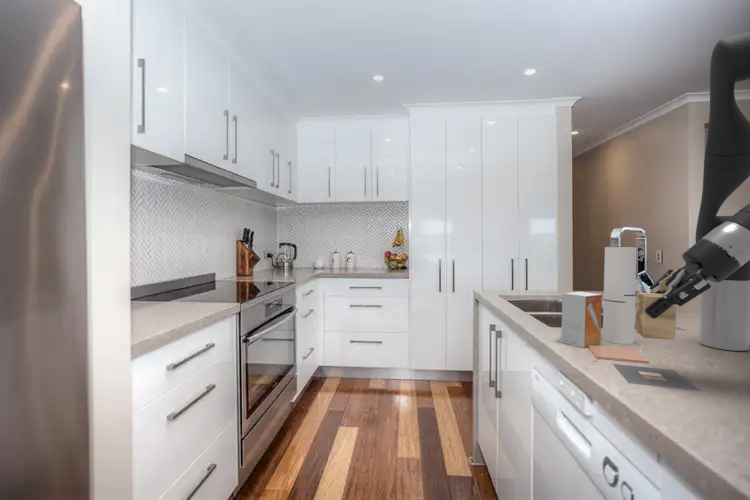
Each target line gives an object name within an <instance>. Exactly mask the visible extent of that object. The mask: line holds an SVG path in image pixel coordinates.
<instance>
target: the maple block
mask: <svg viewBox="0 0 750 500" xmlns="http://www.w3.org/2000/svg"><path fill="white" fill-rule="evenodd" d="M662 295H663V294H660V293H650V292H636V301H635V332H636V333H637V334H638V335H640V336H641V337H642V338H643V339H657V340H668V341H669V340H670V341H671V340H672V341H676V329H677V328H676V324H677V323H676V321H677V305H676V306H674V307H672V306H671V307H670V308H669V309H667V310H666V311H665V312H663V313H662V314H661V315H660V316H658V317H657V318H655V319H654V318H651V317H650V316H649V315H648V314H647V313H646V312H645V309H646V308H647V307H649V306H650V305H651V304H652V303H654V302H655V301H656V300H658V299H659V298H662ZM662 299H663V298H662Z"/></svg>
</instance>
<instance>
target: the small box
mask: <svg viewBox="0 0 750 500" xmlns="http://www.w3.org/2000/svg"><path fill="white" fill-rule="evenodd" d="M561 295H562V297H561V298H562V299H561V302H562V303H561V333H560V335H561V336H560V338H561V339H560V342H561V343H562V344H566V345H570V346H573V347H579V348H588V345H591V346H598V345H601V342H602V341H601V340H602V339H601V335H602V334H601V333H602V311H603V309H602V307H603V305H602V303H603V294H601V293H593V292H587V291H572V292H565V293H562V294H561Z"/></svg>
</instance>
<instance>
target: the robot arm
mask: <svg viewBox="0 0 750 500" xmlns="http://www.w3.org/2000/svg"><path fill="white" fill-rule="evenodd" d="M713 47H714V48H713V50H712V53H711V56H710V57H711V59H710V68H709V72H710V73H709V115H708V126H707V134H706V136H707V137H706V143H705V150H704V161H703V178H702V190H701V191H702V193H701V200H700V205H699V206H700V207H699V212H698V217H697V223H696V229H695V238H694V239H695V243H694V244H693V245H692V246H691V247H689V248H688V249H686V251H684V252H683V253H682V254H681V256H682V260H683V261H684V262H685V265H684V266H682V267H678V268H676V269H674V270H673V269H668V270H667V271H666V272H665V273H664V274H663V275H661V277H660V278H658V279H657V281H655V282H654V283H653V284H652V285H651V286H650V287H648V288H649V293H660V294H663V295H662V298H663V299H662V298H659V299H658V300H656V301H655V302H654V303H652V304H651V305H650V306H649V307H647V308H646V309H645V312H646V313H647V314H648V315H649V316H650V317H651V318H654V319H655V318H657V317H658V316H660V315H661V314H662V313H663V312H665V311H666V310H667V309H669V308H670V307H671V306H672V307H674V306H676V307H677V306H678V307H682V306H684V305H686V304H687V303H688V302H690V301H691V300H694V299H695V298H696V297H698V296H699V295H701V298H700V299H701V300H700V328H699V329H700V331H699V332H700V333H699V334H700V335H699V343H700V344H701V345H703V346H705V347H709V348H713V349H719V350H725V351H735V352H737V351H738V352H739V351H740V352H743V351H749V350H750V349H749V346H750V345H749V344H750V203H748V204H746V205H745V206H743V207H742V208H741V209H740V210H737V212H735V213H734V214H733V215H717V214H718V212H719V210H720V208H721V207H722V206H723V204H724V203H725V201H726V200H727V199H728V198H729V197H730V196H731V195H732V194H733V193H734V192H735V191H736V190H737V189H738V188H739V187H740V186H742V185H743V184H744V183H745V181H746V180H747V179H749V178H750V120H749V119H748V118H747V117H746V116H745V114H743V112H742V111H741V109H740V107H739V106H738V103H737V101H736V97H735V85H736V82H737V83H739V82H742V81H748V80H750V31H748V32H747V31H746V32H742V33H739V34H738V33H737V34H735V35H730V36H727V37H724V38H722V39H720V40H718V41H717V43H716V44H715V45H714V46H713Z"/></svg>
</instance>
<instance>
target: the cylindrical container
mask: <svg viewBox="0 0 750 500" xmlns="http://www.w3.org/2000/svg"><path fill="white" fill-rule="evenodd" d="M637 249H638V248H637V247H625V246H624V247H623V246H622V247H621V246H619V247H618V246H617V247H616V246H615V247H614V246H605V247H604V267H603V269H604V270H603V276H604V277H603V305H602V307H603V309H602V311H603V312H602V314H603V315H602V316H603V317H602V320H603V321H602V340H604V341H605V342H608V341H609V342H608V343H612V342H613V344H614V343H615V344H620V345H632V344H634V343H635V332H636V291H637V289H636V288H637V287H636V285H637Z"/></svg>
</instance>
